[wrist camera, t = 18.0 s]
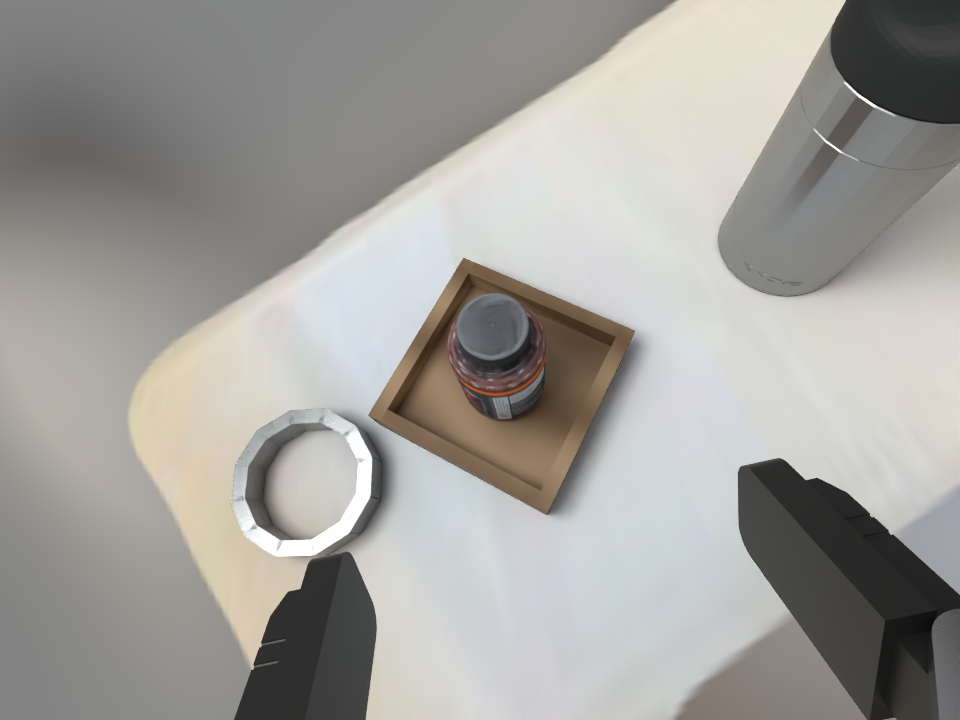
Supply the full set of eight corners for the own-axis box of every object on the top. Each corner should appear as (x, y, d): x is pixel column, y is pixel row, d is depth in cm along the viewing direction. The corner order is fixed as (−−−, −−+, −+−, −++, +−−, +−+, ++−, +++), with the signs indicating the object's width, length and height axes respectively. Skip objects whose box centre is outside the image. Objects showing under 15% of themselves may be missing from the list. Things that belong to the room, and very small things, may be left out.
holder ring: (300, 396, 41) (285, 386, 39) (406, 454, 39) (398, 448, 36) (224, 512, 39) (204, 510, 36) (333, 583, 36) (318, 585, 34)
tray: (468, 276, 43) (463, 257, 40) (628, 346, 40) (635, 330, 37) (380, 424, 40) (368, 415, 37) (547, 515, 36) (547, 512, 33)
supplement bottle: (450, 370, 40) (418, 305, 29) (519, 333, 40) (512, 256, 29) (488, 438, 38) (468, 396, 27) (560, 398, 38) (568, 341, 27)
